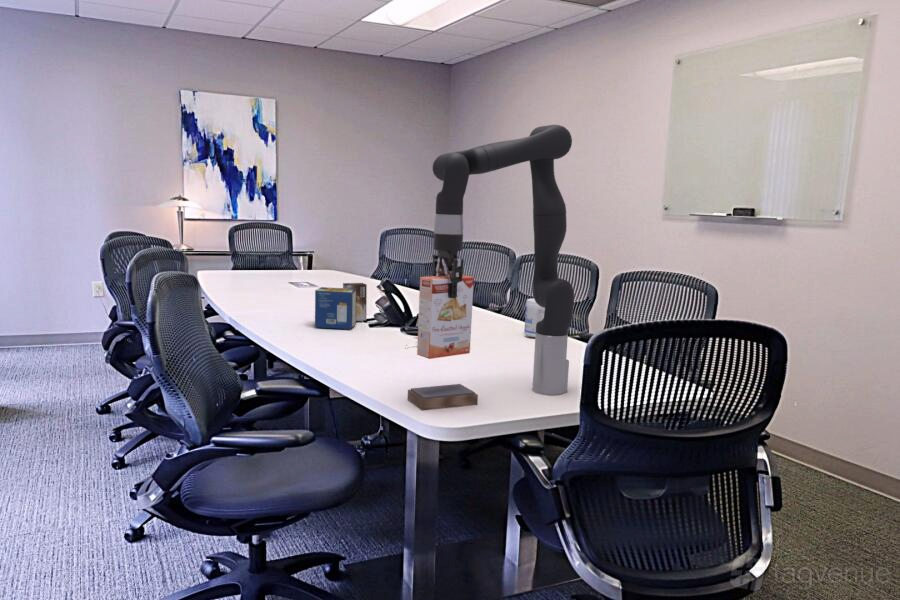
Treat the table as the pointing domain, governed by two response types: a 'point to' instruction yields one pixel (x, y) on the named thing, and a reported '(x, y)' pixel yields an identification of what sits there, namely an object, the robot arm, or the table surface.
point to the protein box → (335, 308)
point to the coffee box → (359, 299)
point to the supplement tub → (532, 317)
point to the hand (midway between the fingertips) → (446, 295)
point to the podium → (442, 397)
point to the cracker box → (444, 317)
